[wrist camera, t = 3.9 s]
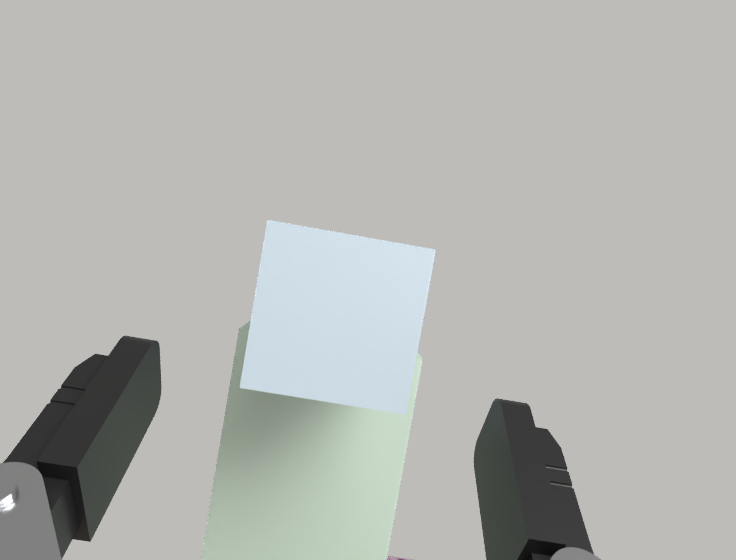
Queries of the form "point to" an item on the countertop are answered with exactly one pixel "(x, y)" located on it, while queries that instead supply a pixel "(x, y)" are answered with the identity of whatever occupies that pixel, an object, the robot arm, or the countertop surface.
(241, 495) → the shelf
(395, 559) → the gum box
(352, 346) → the light blue box
